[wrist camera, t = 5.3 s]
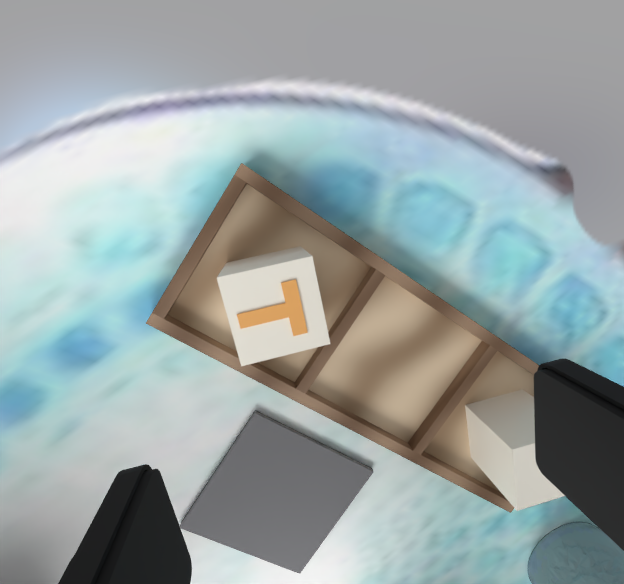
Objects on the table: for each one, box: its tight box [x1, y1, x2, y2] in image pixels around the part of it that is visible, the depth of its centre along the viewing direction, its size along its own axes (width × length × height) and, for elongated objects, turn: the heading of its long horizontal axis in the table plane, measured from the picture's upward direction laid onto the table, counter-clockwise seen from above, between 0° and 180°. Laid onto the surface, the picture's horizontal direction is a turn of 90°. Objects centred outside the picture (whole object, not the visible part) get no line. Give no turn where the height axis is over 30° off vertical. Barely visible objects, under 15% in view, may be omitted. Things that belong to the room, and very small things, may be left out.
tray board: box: [146, 163, 539, 513], centre depth 26 cm, size 33×12×1 cm, turn 56°
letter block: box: [217, 246, 330, 366], centre depth 21 cm, size 5×5×6 cm
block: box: [465, 389, 565, 511], centre depth 26 cm, size 5×5×6 cm
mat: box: [180, 411, 373, 574], centre depth 28 cm, size 11×11×1 cm
